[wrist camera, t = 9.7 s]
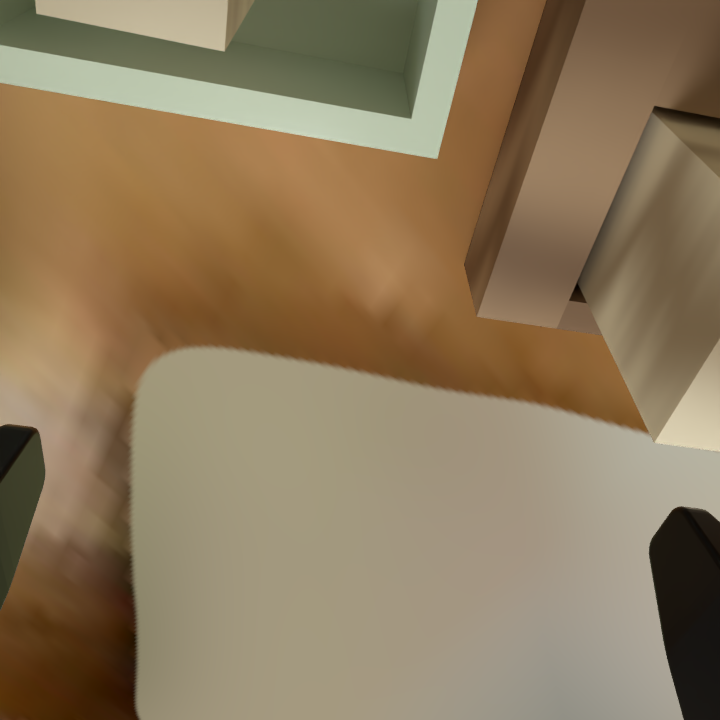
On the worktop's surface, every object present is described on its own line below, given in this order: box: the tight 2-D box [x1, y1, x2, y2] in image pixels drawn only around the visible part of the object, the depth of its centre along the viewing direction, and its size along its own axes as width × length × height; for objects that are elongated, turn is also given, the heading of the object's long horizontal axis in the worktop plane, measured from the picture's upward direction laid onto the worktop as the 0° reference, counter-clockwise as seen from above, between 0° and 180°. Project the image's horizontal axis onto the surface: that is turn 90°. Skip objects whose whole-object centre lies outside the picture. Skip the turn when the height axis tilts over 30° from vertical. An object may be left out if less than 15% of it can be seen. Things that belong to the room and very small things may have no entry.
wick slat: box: [577, 106, 720, 451], centre depth 17 cm, size 5×2×9 cm, turn 170°
